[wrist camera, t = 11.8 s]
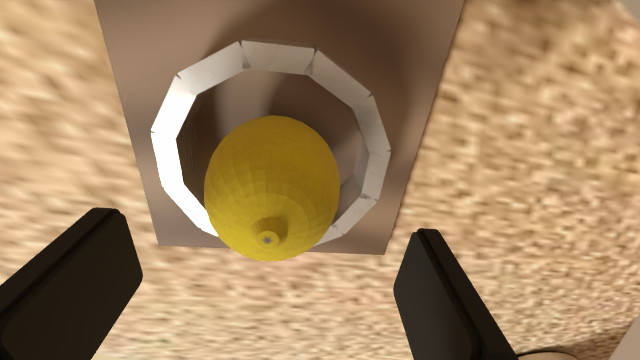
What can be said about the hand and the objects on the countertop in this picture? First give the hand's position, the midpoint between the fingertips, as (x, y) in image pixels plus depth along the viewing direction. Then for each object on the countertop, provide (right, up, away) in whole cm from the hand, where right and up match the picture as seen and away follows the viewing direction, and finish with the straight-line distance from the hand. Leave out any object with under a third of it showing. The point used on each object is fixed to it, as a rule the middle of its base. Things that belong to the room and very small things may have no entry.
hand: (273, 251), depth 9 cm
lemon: (-1, +4, +6) cm, 8 cm away
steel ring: (-1, +5, +7) cm, 9 cm away
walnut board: (-1, +5, +7) cm, 9 cm away
